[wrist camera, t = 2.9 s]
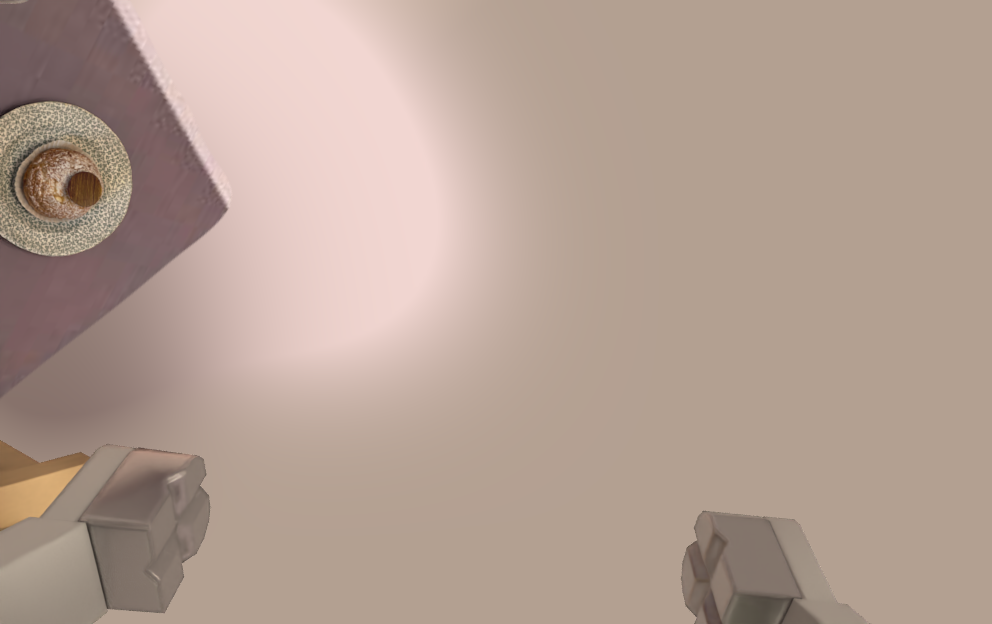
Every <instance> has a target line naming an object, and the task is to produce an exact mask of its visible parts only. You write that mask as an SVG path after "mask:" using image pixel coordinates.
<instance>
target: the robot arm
mask: <svg viewBox="0 0 992 624" xmlns="http://www.w3.org/2000/svg"><path fill="white" fill-rule="evenodd" d="M205 476H206V470H205V464H204V459H203V458H201V457H200V456H197V455H189V454H182V453H174V452H167V451H160V450H152V449H145V448H132V447H125V446H118V445H110V444H106V445H104V446H102V447H100V448H98V449H97V450H96V451H95V452H94V454H93V455H92V456H91V457H90V458H89V459H88V460H87V462H86V463H85V464H84V465H83V466H82V468H81V469H80V470H79V471H78V472H77V473H76V475H75V476H74V477H73V478H72V479H71V481H70V482H69V483H68V484H67V485H66V487H65V488H64V489H63V490H62V491H61V492H60V494H59V495H58V496H57V497H56V498H55V500H54V501H53V502H52V503H51V504H50V506H49V507H48V508H47V509H46V510H45V511H44V513H43V514H42V515H41V516H40V517H39V518H37V517H28V518H26V519H24V520H22V521H20V522H18V523H16V524H14V525H12V526H10V527H8V528H6V529H4V530H2V531H0V624H93V623H94V622H96V621H97V620H98V619H99V618H101V617H102V616H103V615H104V614H106V613H107V609H116V610H129V611H142V612H156V613H165V611H166V609H167V607H168V605H169V604H170V602H171V600H172V598H173V596H174V595H175V593H176V591H177V589H178V587H179V585H180V583H181V582H182V580H183V578H184V574H183V568H182V563H183V562H184V561H186V560H187V559H189V558H190V557H192V556H194V555H195V554H196V553H197V551H198V549H199V547H200V545H201V543H202V541H203V539H204V536H205V533H206V530H207V526H208V523H209V515H210V502H209V495H208V494H207V493H206V492H205V491H204V490H203V488H202V487H201V486H200V485H201V483H202V481H203V479H204V477H205ZM694 529H695V533H696V537H697V541H695V542H694V543H692V544H691V545H689V546H688V547H687V549H686V553H685V556H684V559H683V564H682V577H681V580H682V591H683V596H684V600H685V605H686V606H687V608H688V609H689V610H690V611H691V612H692V613H693V614H694V615H695V616H696V617H697V618H696V621H695V623H694V624H870V623H869V622H868V621H866V620H865V619H864V618H863V617H862V616H860V615H859V614H858V613H857V612H856V611H854V610H853V609H852V608H851V607H850V606H849V605H847V604H840V603H838V602H837V600H836V598H835V596H834V594H833V592H832V590H831V588H830V586H829V584H828V582H827V580H826V577H825V575H824V573H823V571H822V569H821V567H820V565H819V563H818V561H817V559H816V557H815V555H814V553H813V551H812V549H811V546H810V544H809V543H808V540H807V538H806V536H805V534H804V532H803V530H802V528H801V526H800V524H799V523H798V522H796V521H795V520H793V519H783V518H772V517H759V516H750V515H740V514H730V513H719V512H710V511H703V512H702V513H701V514H700V515H699V516H698V518H697V521H696V524H695V526H694Z"/></svg>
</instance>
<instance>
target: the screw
mask: <svg viewBox="0 0 992 624" xmlns="http://www.w3.org/2000/svg"><path fill="white" fill-rule="evenodd" d="M26 1H28V0H0V3H8V4H10V3H12V4H16V3H23V2H26Z"/></svg>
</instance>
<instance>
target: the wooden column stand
mask: <svg viewBox="0 0 992 624" xmlns="http://www.w3.org/2000/svg"><path fill="white" fill-rule="evenodd" d="M89 458H90V457H89V456H87V455H85V454H83V453H81V452H80V453H75V454H72V455H68V456H64V457H61V458H57V459H53V460H49V461H45V462H41V463H39V462H37V461H35V460H33V459H32V458H30V457H29V456H27V455H25V454H23V453H22V452H20V451H18V450H16V449H14V448H13V447H11V446H9V445H8V444H6V443H4V442H3V441H1V440H0V528H6V527H10V526H12V525H14V524H16V523H18V522H20V521H22V520H24V519H26V518H28V517H37V518H39V517H40V516H41V515H42V514H43V513H44V511H45V510H46V509H47V508H48V507H49V506H50V504H51V503H52V502H53V501H54V500H55V498H56V497H57V496H58V495H59V494H60V492H61V491H62V490H63V489H64V488H65V487H66V485H67V484H68V483H69V482H70V481H71V479H72V478H73V477H74V476H75V475H76V473H77V472H78V471H79V470H80V469H81V468H82V466H83V465H84V464H85V463H86V462H87V460H88V459H89Z"/></svg>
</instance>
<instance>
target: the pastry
mask: <svg viewBox="0 0 992 624" xmlns="http://www.w3.org/2000/svg"><path fill="white" fill-rule="evenodd" d="M131 192H132V175H131V164H130V161H129V158H128V155H127V153H126V150H125V148H124V146H123V144H122V143H121V141H120V140H119V138H118V137H117V136H116V135H115V133H114V132H113V131H112V130H111V129H110V128H109V127H108V126H107V125H106V124H105V123H104V122H103V121H102V120H101V119H99V118H98V117H96V116H95V115H93V114H91V113H90V112H88V111H86V110H84V109H82V108H80V107H77V106H74V105H71V104H68V103H62V102H54V101H48V102H38V103H33V104H27V105H24V106H20V107H18V108H16V109H14V110H12V111H10V112H9V113H7V114H5V115H3V116H2V117H1V118H0V235H1V236H2V237H4V238H5V239H7V240H8V241H9V242H11V243H12V244H14V245H16V246H18V247H20V248H22V249H25V250H27V251H30V252H33V253H36V254H40V255H45V256H67V255H72V254H76V253H79V252H82V251H84V250H87V249H90V248H92V247H94V246H96V245H97V244H99V243H100V242H101V241H103V240H104V239H105V238H107V237H108V236H109V235H110V234H112V233H113V232H114V231H115V229H116V228H117V227H118V225H119V224H120V223H121V221H122V219H123V218H124V216H125V214H126V211H127V209H128V205H129V200H130V196H131Z"/></svg>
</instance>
